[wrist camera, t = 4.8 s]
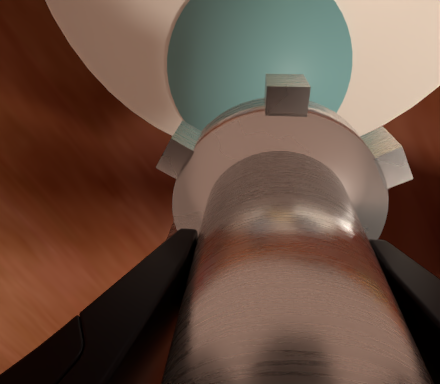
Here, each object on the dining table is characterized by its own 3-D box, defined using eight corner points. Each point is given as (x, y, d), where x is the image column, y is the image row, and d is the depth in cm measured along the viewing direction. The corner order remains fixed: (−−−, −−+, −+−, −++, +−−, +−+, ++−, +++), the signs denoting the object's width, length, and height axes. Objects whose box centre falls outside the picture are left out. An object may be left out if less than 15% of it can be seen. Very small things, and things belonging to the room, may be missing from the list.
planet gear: (415, 76, 9) (856, 296, 2) (358, 279, 12) (468, 588, 6) (161, 71, 9) (-57, 236, 3) (178, 267, 13) (97, 535, 6)
